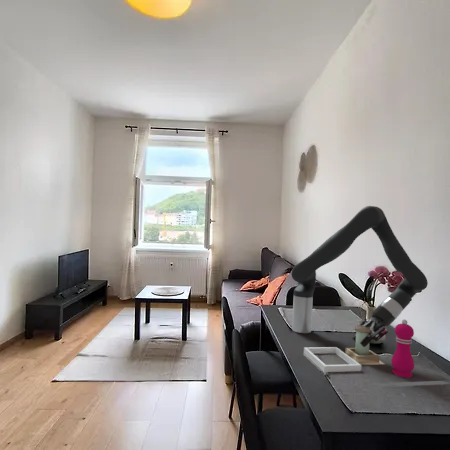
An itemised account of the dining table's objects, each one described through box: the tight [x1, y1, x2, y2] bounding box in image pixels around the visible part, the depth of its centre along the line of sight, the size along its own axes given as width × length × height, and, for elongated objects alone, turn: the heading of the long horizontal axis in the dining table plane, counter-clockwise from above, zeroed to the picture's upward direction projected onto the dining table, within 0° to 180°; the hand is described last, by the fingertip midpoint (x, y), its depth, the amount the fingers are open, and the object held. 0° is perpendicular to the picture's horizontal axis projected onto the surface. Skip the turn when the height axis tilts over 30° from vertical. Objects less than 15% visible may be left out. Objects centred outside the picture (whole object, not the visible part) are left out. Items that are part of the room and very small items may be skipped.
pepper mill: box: [390, 319, 415, 378], centre depth 122 cm, size 7×7×20 cm
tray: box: [303, 346, 362, 376], centre depth 130 cm, size 18×14×3 cm
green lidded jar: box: [354, 324, 371, 356], centre depth 134 cm, size 6×6×12 cm
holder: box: [344, 347, 385, 366], centre depth 134 cm, size 12×12×4 cm
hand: (358, 342), depth 134 cm, fingers closed on green lidded jar, 5 cm apart
